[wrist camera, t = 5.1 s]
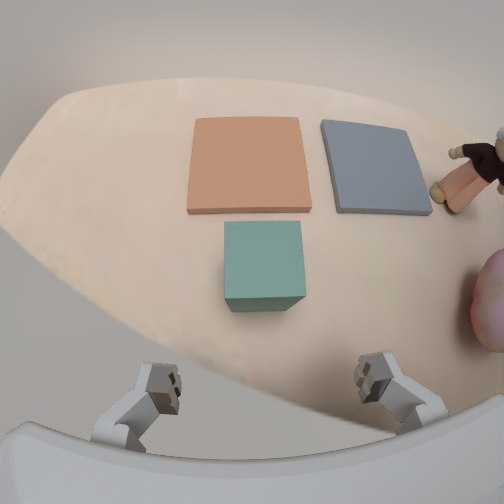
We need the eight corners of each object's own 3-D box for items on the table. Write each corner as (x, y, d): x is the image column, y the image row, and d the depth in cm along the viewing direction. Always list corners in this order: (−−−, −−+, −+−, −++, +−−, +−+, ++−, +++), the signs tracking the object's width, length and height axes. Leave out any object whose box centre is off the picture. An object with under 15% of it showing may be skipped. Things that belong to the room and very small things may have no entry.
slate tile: (402, 136, 27) (405, 130, 26) (427, 215, 24) (433, 211, 23) (320, 125, 26) (322, 119, 25) (337, 212, 23) (340, 207, 22)
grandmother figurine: (423, 204, 24) (501, 130, 12) (421, 174, 25) (487, 97, 13) (474, 225, 24) (551, 172, 11) (470, 196, 25) (538, 138, 13)
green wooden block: (282, 259, 22) (300, 220, 15) (285, 310, 21) (306, 295, 14) (231, 260, 22) (224, 221, 15) (231, 312, 21) (224, 298, 14)
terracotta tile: (296, 124, 26) (298, 117, 25) (309, 212, 23) (311, 206, 22) (197, 125, 26) (195, 118, 25) (188, 214, 23) (186, 209, 22)
